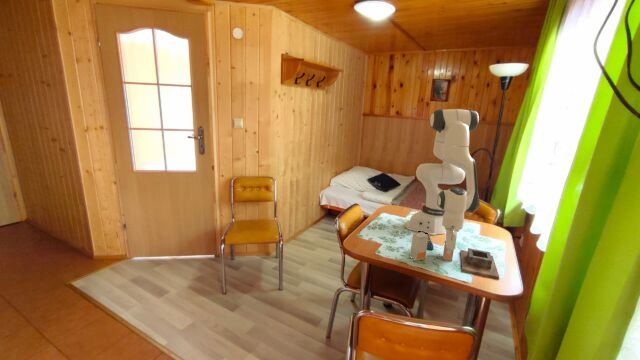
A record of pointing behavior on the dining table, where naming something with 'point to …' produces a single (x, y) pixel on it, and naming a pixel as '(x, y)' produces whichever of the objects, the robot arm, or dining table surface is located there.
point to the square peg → (447, 256)
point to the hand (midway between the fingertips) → (448, 250)
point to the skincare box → (419, 246)
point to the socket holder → (478, 263)
